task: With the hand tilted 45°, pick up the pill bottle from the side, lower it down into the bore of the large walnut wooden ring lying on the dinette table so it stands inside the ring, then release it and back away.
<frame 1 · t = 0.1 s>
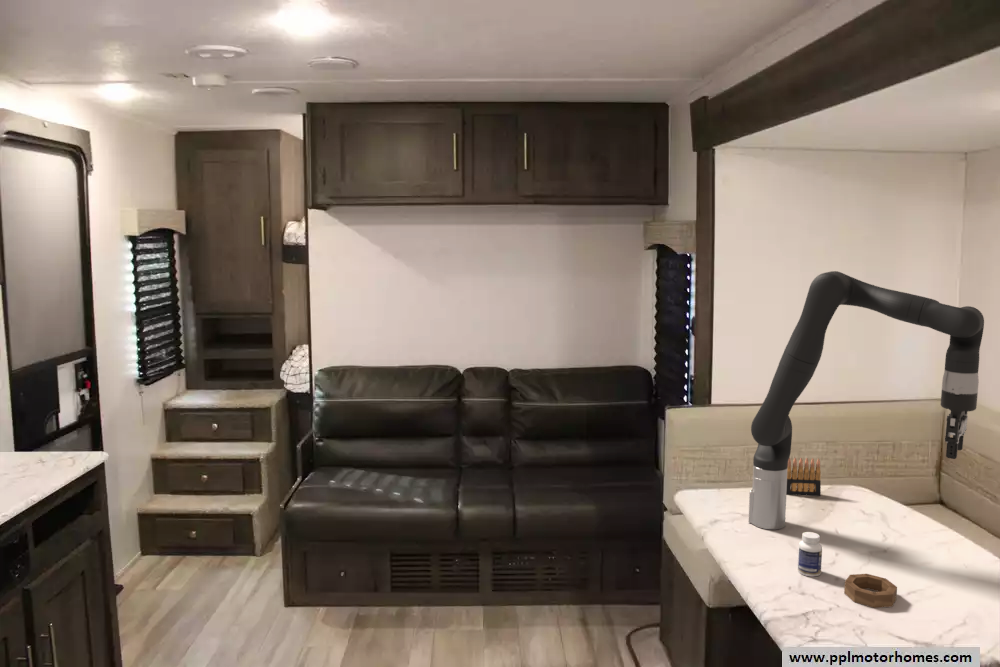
hand: (954, 453, 189), 29 cm above the table, tool pointing down, fingers open, 8 cm apart
ammunition clip: (802, 494, 244), on the table
walnut ring: (870, 596, 178), on the table
pill bottle: (809, 573, 191), on the table
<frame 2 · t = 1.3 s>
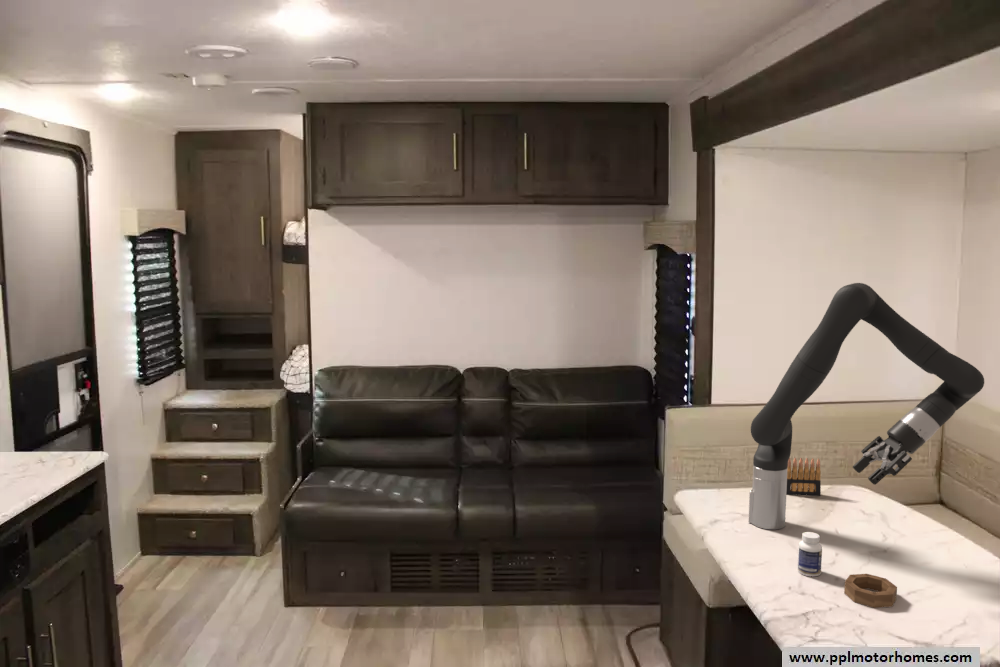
hand: (863, 476, 188), 24 cm above the table, tool tilted 45°, fingers open, 8 cm apart
nothing on the table moved.
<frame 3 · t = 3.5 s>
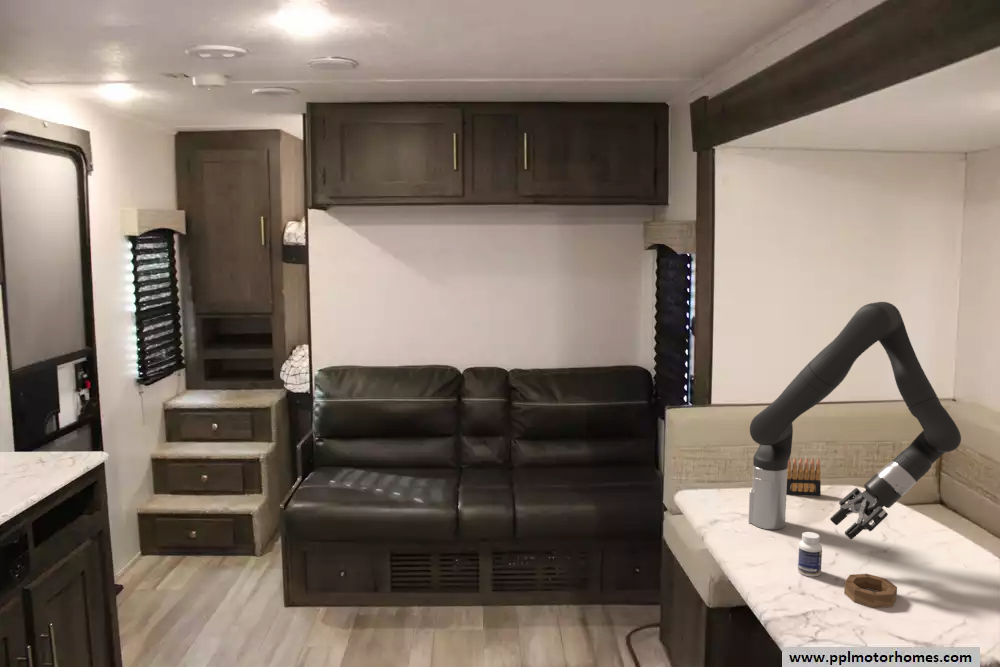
hand: (840, 529, 189), 11 cm above the table, tool tilted 45°, fingers open, 8 cm apart
nothing on the table moved.
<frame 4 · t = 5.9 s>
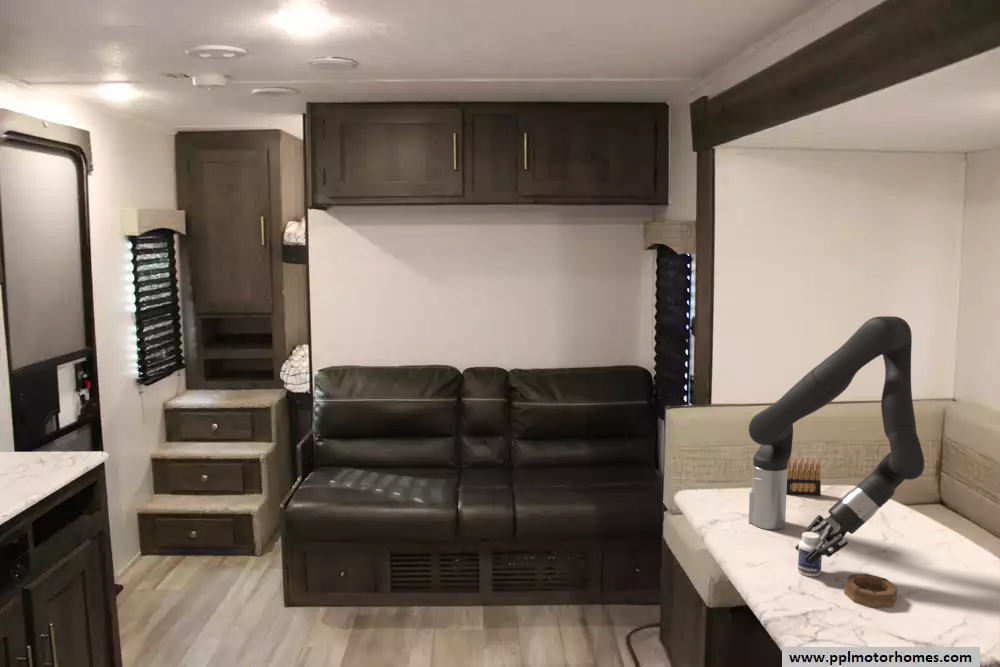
hand: (802, 556, 190), 4 cm above the table, tool tilted 45°, fingers closed on pill bottle, 5 cm apart
pill bottle: (809, 573, 191), on the table, touching gripper
everything else where it was.
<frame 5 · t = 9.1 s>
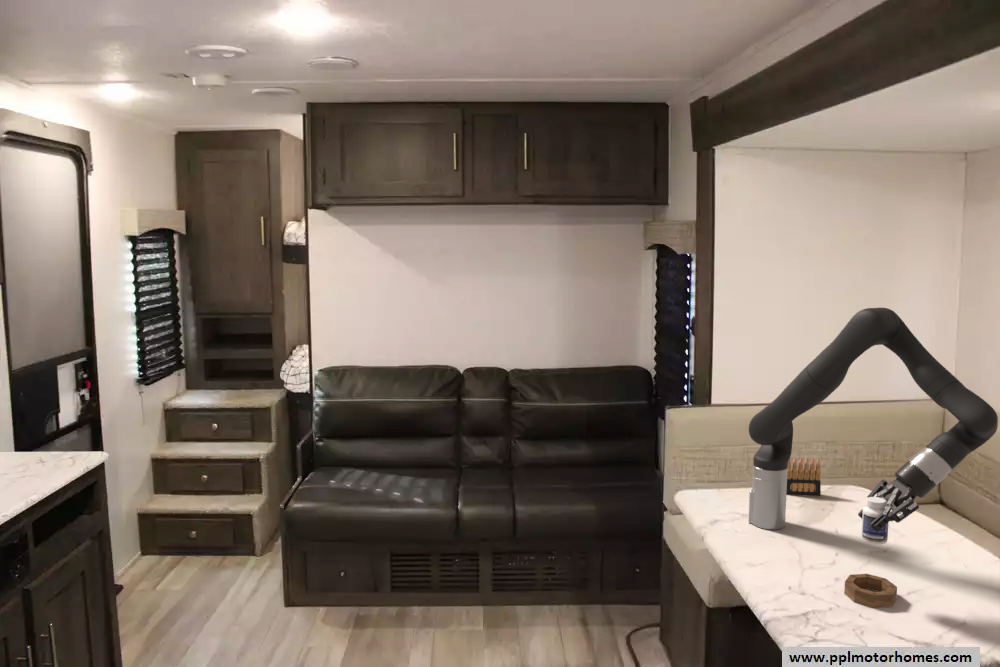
hand: (867, 522, 176), 18 cm above the table, tool tilted 45°, fingers closed on pill bottle, 5 cm apart
pill bottle: (874, 541, 176), point 13 cm above the table, touching gripper
everything else where it was.
when the fingers open (5 cm above the table, at t = 12.4 s): pill bottle drops 1 cm, resting in walnut ring.
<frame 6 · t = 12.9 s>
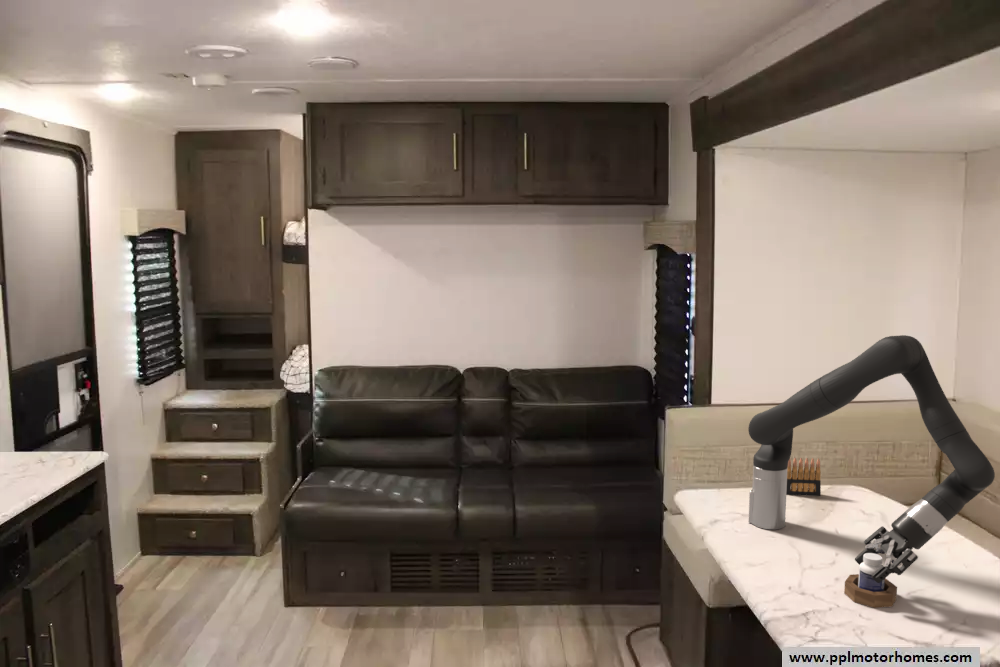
hand: (865, 571, 177), 6 cm above the table, tool tilted 45°, fingers open, 8 cm apart
pill bottle: (870, 596, 178), resting in walnut ring
everything else where it was.
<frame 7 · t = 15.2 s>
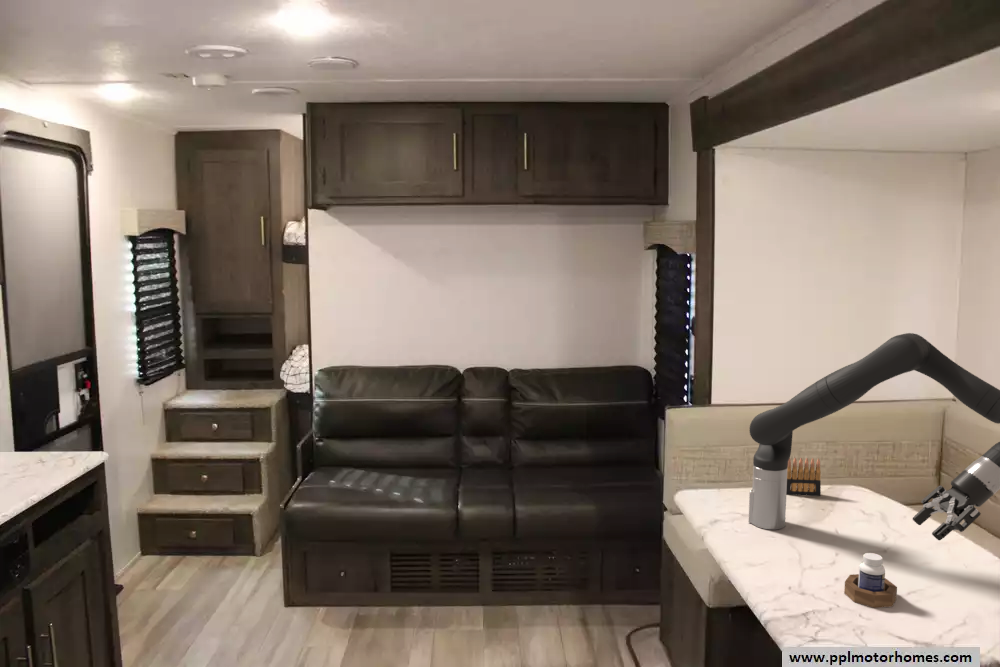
hand: (925, 529, 176), 16 cm above the table, tool tilted 45°, fingers open, 8 cm apart
nothing on the table moved.
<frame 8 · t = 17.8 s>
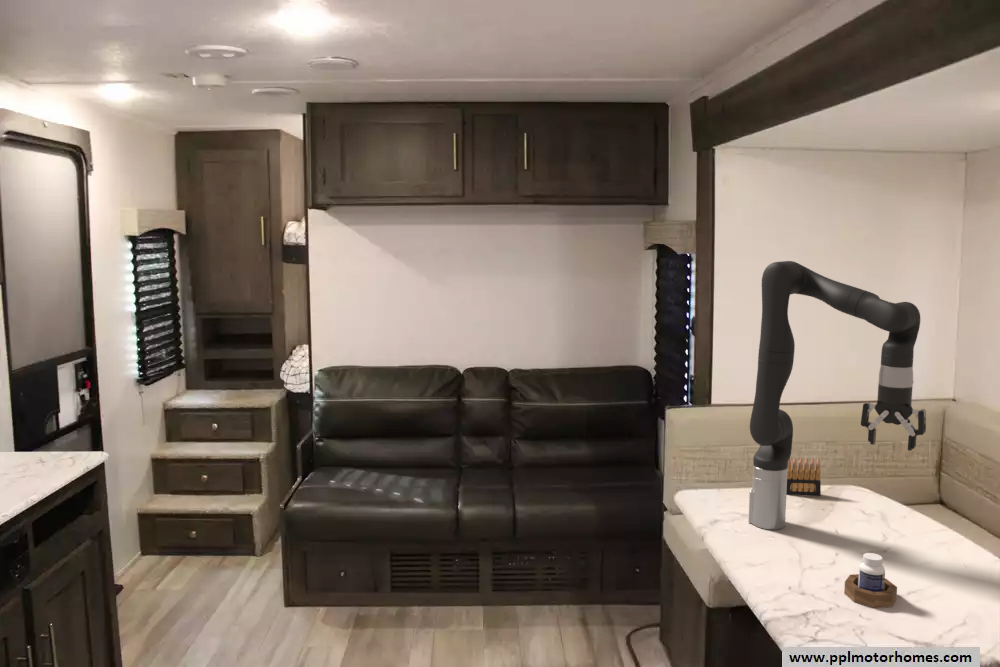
hand: (891, 446, 192), 30 cm above the table, tool pointing down, fingers open, 8 cm apart
nothing on the table moved.
at the end: pill bottle 0.2 cm off-centre on the walnut ring, point 0.0 cm above the walnut ring's base; pill bottle tilted 0°; the gripper is holding nothing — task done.
